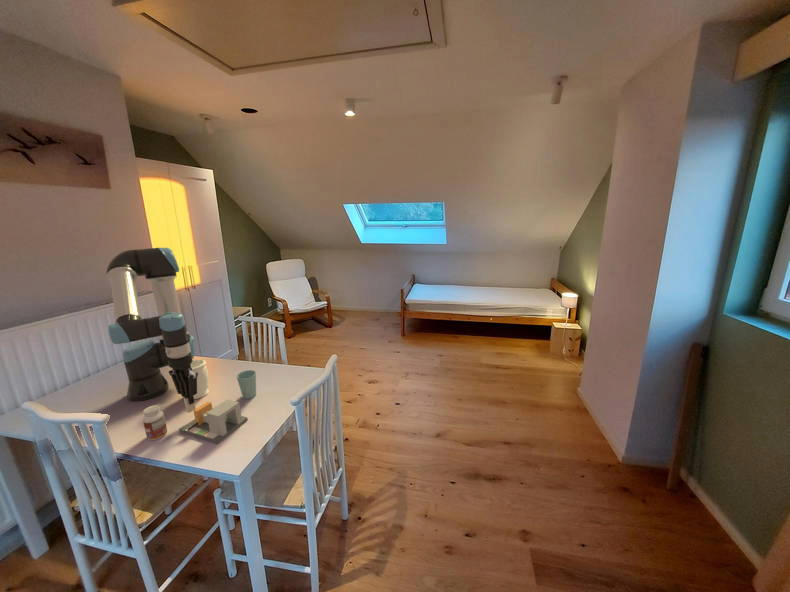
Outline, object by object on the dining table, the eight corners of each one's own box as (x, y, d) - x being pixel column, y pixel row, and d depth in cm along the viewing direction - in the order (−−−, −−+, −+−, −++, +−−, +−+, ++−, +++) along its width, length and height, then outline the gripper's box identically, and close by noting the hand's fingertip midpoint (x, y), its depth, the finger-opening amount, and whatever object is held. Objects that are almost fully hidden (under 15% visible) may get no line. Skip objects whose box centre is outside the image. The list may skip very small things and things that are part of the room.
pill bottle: (145, 436, 118) (138, 409, 115) (164, 427, 123) (158, 401, 120) (150, 443, 114) (143, 416, 112) (170, 434, 119) (163, 408, 116)
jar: (183, 403, 138) (176, 372, 134) (185, 392, 147) (179, 362, 143) (211, 396, 143) (205, 366, 139) (211, 386, 152) (206, 357, 148)
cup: (259, 397, 141) (255, 376, 139) (240, 402, 138) (236, 380, 136) (258, 389, 148) (255, 368, 145) (240, 393, 145) (236, 372, 142)
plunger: (186, 430, 118) (183, 416, 117) (210, 415, 127) (207, 401, 126) (205, 436, 115) (202, 422, 113) (229, 420, 124) (226, 406, 122)
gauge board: (179, 431, 120) (174, 409, 118) (212, 410, 133) (208, 390, 130) (217, 443, 113) (212, 420, 111) (247, 420, 126) (244, 398, 124)
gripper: (157, 356, 119) (170, 412, 125) (181, 361, 114) (194, 419, 120) (176, 348, 126) (188, 402, 131) (200, 352, 121) (211, 408, 127)
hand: (191, 410), depth 126 cm, fingers closed
